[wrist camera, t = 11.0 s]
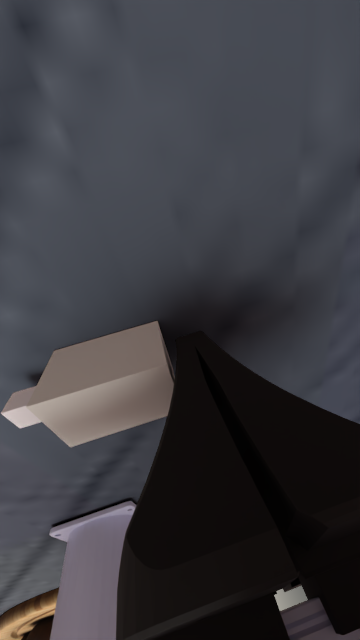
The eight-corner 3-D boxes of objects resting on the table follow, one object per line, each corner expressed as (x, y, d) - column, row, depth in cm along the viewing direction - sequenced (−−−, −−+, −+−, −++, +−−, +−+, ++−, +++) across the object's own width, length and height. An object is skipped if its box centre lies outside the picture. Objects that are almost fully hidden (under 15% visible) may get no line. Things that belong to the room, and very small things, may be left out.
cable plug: (171, 363, 11) (182, 410, 9) (47, 401, 11) (22, 462, 8) (157, 320, 10) (166, 363, 7) (11, 363, 9) (-35, 425, 7)
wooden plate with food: (163, 584, 52) (169, 642, 45) (19, 632, 43) (-1, 714, 36) (184, 542, 37) (197, 621, 30) (-30, 604, 28) (-81, 734, 21)
